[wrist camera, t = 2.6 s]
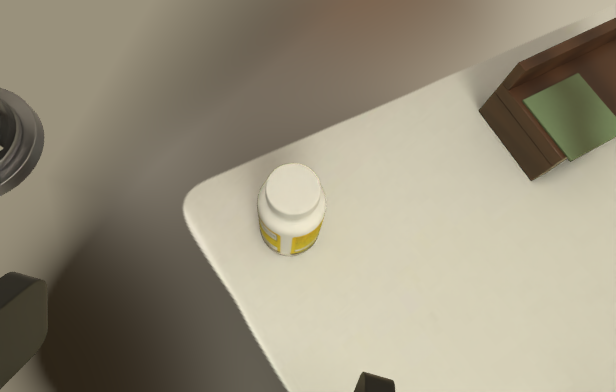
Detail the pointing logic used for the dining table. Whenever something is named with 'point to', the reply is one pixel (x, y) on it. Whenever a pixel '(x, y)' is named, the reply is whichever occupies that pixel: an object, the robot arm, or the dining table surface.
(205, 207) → the dining table surface
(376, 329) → the dining table surface
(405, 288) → the dining table surface
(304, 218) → the supplement bottle
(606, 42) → the shelf
